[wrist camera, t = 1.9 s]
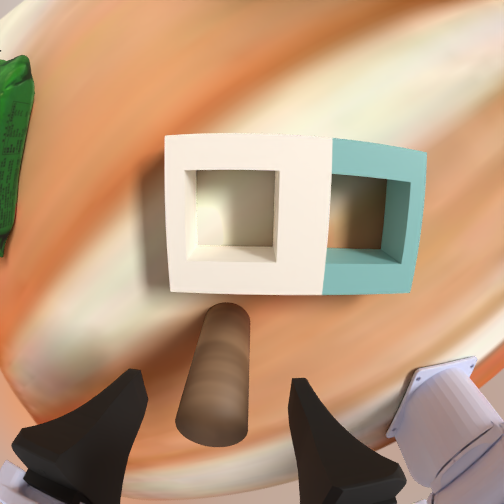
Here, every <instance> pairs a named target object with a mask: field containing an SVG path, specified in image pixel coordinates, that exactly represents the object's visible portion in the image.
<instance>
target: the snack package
mask: <svg viewBox="0 0 504 504" xmlns="http://www.w3.org/2000/svg"><path fill="white" fill-rule="evenodd" d="M0 52H1V50H0ZM34 94H35V92H34V81H33V78H32V74H31V67H30V61H29V59H28V57H27V56H25V55H20V56H18V57H15V58H14V59H11V60H8V61H5V60H0V257H3V255H4V248H5V243H6V240H7V238H8V235H9V233H10V231H11V229H12V226H13V223H14V220H15V215H16V206H17V192H18V179H19V171H20V165H21V160H22V155H23V150H24V144H25V139H26V134H27V129H28V124H29V118H30V114H31V110H32V106H33V101H34Z"/></svg>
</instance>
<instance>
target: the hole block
mask: <svg viewBox="0 0 504 504" xmlns="http://www.w3.org/2000/svg"><path fill="white" fill-rule="evenodd" d="M426 164H427V152H422V151H417V150H412V149H406V148H401V147H395V146H389V145H383V144H376V143H370V142H362V141H355V140H346V139H337V138H327V137H316V136H303V135H287V134H261V133H209V134H184V135H168V136H165V216H166V238H167V255H168V269H169V281H170V292H188V293H213V294H250V295H356V294H392V293H410V290H411V286H412V281H413V276H414V271H415V265H416V259H417V254H418V247H419V241H420V234H421V226H422V218H423V208H424V197H425V184H426ZM196 170H275V194H274V225H273V247H261V246H208V245H198V244H197V189H196ZM332 174H342V175H353V176H364V177H373V178H382V179H387V190H386V204H385V215H384V225H383V234H382V242H381V249H350V248H327V240H328V227H329V213H330V197H331V176H332Z"/></svg>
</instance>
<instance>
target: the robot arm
mask: <svg viewBox="0 0 504 504" xmlns="http://www.w3.org/2000/svg"><path fill="white" fill-rule="evenodd" d="M476 362H477V358H476V357H475V356H473V357H469V358H465V359H461V360H457V361H452V362H448V363H443V364H439V365H434V366H429V367H424V368H419V369H417V370H416V371H415V372H414V375H413V377H412V380H411V382H410V384H409V387H408V389H407V391H406V394H405V396H404V398H403V400H402V403H401V405H400V407H399V409H398V411H397V413H396V415H395V417H394V419H393V421H392V423H391V425H390V427H389V429H388V431H387V433H386V437H387V438H392V437H395V439H396V441H397V443H398V446H399V448H400V450H401V453H402V455H403V457H404V460H405V462H406V464H407V467H408V469H409V472H410V474H411V476H412V477H413V479H414V480H415V481H416V482H418V483H419V484H421V485H422V486H425V487H430V488H431V489H432V491H433V492H432V493H431V494H430V495H429V497H428V500H427V501H426V499H422V500H420V501H417V502H414V503H412V504H504V421H503V420H502V418H501V417H500V416H499V414H498V413H497V412H496V411H495V409H494V408H493V407H492V405H491V404H490V403H489V402H488V400H487V399H486V398H485V397H484V395H483V394H482V393H481V391H480V390H479V389H478V388H477V387H476V385H475V384H474V383H473V382H472V381H471V379H470V378H469V377H470V375H471V373H472V371H473V368H474V366H475V364H476ZM147 402H148V397H147V393H146V389H145V386H144V382H143V378H142V374H141V370H136V369H128V370H127V371H126V372H125V373H123V374H122V375H121V376H120V377H119V378H118V379H116V380H115V381H114V382H113V383H112V384H111V385H109V386H108V387H107V388H106V389H104V390H103V391H102V392H101V393H99V394H98V395H97V396H95V397H94V398H93V399H91V400H90V401H89V402H87V403H86V404H84V405H82V406H81V407H79V408H77V409H76V410H74V411H72V412H70V413H68V414H66V415H64V416H61V417H59V418H57V419H55V420H52V421H49V422H46V423H43V424H40V425H36V426H32V427H27V428H22V429H21V431H20V433H19V434H18V435H17V437H16V438H15V440H14V441H13V443H12V449H13V451H14V452H15V454H16V455H17V456H18V457H19V458H20V460H21V461H22V462H23V463H24V464H25V465H26V466H27V468H28V470H27V472H25V471H24V470H22V469H21V468H20V467H18V466H16V465H14V464H13V463H11V462H10V461H8V460H6V461H5V462H4V464H3V466H2V467H1V469H0V502H1V503H2V504H120V498H121V491H122V484H123V479H124V474H125V469H126V465H127V461H128V456H129V453H130V450H131V448H132V445H133V443H134V440H135V438H136V435H137V433H138V430H139V428H140V425H141V423H142V420H143V417H144V414H145V411H146V406H147ZM288 415H289V426H290V431H291V436H292V441H293V446H294V451H295V456H296V460H297V467H298V477H299V491H300V504H397V501H396V498H395V496H396V495H397V494H398V493H399V492H400V491H401V489H403V487H404V486H405V484H406V481H407V480H406V477H405V475H404V473H403V471H402V469H401V467H400V466H399V464H398V463H396V462H394V461H392V460H390V459H387V458H385V457H383V456H381V455H380V454H378V453H376V452H375V451H373V450H371V449H370V448H368V447H367V446H366V445H364V444H363V443H361V442H360V441H358V440H357V439H356V438H355V437H354V436H352V435H351V434H350V433H349V432H348V431H347V430H346V429H345V428H344V427H342V426H341V425H340V423H339V422H338V421H337V420H336V419H335V418H334V417H333V416H332V415H331V413H330V412H329V411H328V410H327V409H326V407H325V406H324V405H323V403H322V402H321V401H320V399H319V398H318V396H317V395H316V393H315V392H314V390H313V389H312V387H311V386H310V384H309V382H308V381H307V379H306V378H292V383H291V390H290V397H289V404H288Z"/></svg>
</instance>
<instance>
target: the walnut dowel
mask: <svg viewBox="0 0 504 504" xmlns="http://www.w3.org/2000/svg"><path fill="white" fill-rule="evenodd" d="M249 353H250V318H249V316H248V314H247V312H246V311H245V310H244V309H243V308H242V307H240V306H238V305H236V304H233V303H219V304H217V305H215V306H213V307H212V308H210V309H209V311H208V312H207V314H206V317H205V320H204V323H203V327H202V330H201V333H200V337H199V340H198V343H197V346H196V350H195V353H194V357H193V360H192V363H191V367H190V370H189V374H188V377H187V380H186V384H185V387H184V391H183V394H182V398H181V401H180V405H179V408H178V412H177V416H176V419H175V423H176V427H177V429H178V430H179V432H180V433H181V434H182V435H183V436H185V437H186V438H187V439H189V440H191V441H193V442H195V443H198V444H201V445H204V446H210V447H226V446H231V445H234V444H237V443H239V442H240V441H242V440H243V439H244V438H245V436H246V435H247V432H248V397H249Z"/></svg>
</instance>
